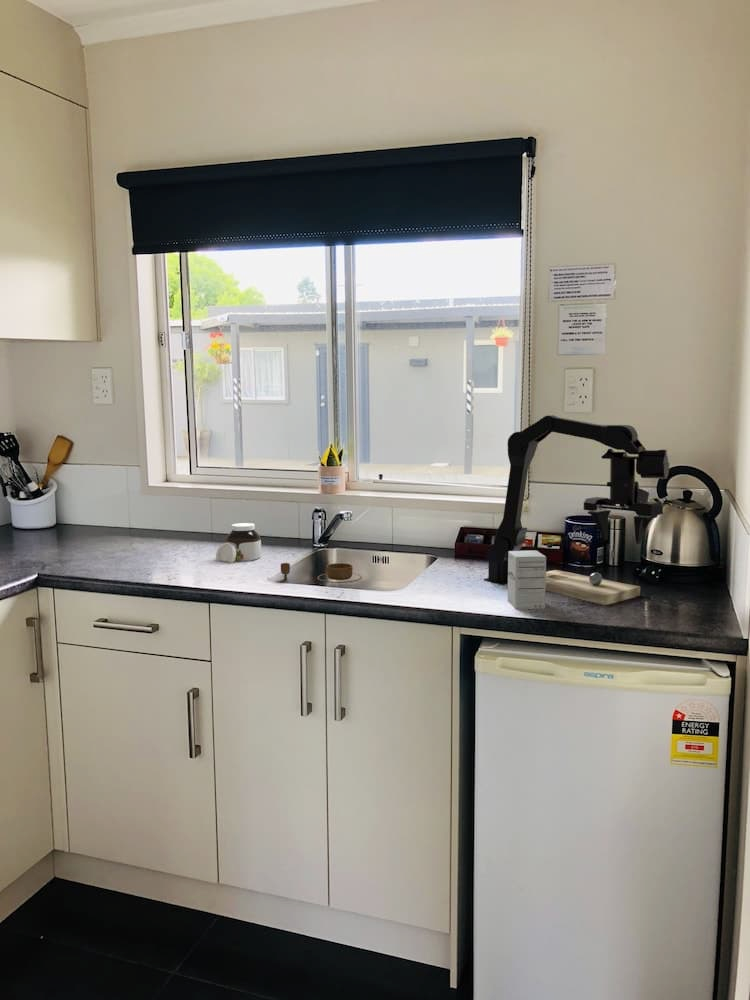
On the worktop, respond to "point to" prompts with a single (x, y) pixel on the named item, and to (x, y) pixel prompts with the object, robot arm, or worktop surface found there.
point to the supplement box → (526, 579)
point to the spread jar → (240, 544)
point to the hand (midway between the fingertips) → (621, 541)
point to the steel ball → (595, 578)
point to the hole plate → (589, 588)
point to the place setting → (328, 572)
